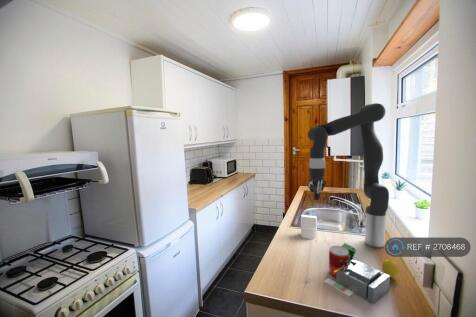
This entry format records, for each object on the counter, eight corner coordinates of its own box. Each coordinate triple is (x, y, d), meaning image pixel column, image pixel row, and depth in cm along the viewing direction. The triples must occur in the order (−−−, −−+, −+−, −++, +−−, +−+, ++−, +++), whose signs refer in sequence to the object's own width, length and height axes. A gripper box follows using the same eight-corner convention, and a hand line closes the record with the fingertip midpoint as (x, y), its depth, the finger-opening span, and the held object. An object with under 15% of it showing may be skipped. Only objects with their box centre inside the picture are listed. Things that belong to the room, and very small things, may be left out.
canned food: (341, 281, 95) (341, 256, 94) (325, 272, 102) (325, 248, 101) (352, 275, 99) (352, 251, 98) (335, 266, 106) (336, 243, 105)
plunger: (350, 273, 100) (350, 259, 99) (370, 284, 93) (371, 268, 92) (331, 286, 93) (332, 270, 92) (352, 298, 86) (352, 281, 85)
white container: (317, 233, 140) (318, 214, 139) (315, 240, 132) (315, 220, 131) (302, 231, 144) (302, 212, 143) (299, 237, 136) (299, 217, 135)
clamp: (344, 272, 109) (345, 261, 104) (332, 264, 113) (333, 253, 108) (356, 255, 115) (358, 243, 110) (344, 248, 119) (345, 237, 114)
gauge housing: (352, 272, 102) (353, 256, 101) (389, 290, 90) (389, 272, 89) (336, 283, 95) (336, 265, 94) (373, 304, 83) (373, 284, 82)
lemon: (397, 282, 94) (398, 264, 93) (381, 278, 97) (382, 260, 96) (397, 275, 98) (398, 257, 97) (381, 271, 101) (382, 254, 100)
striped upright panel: (328, 278, 98) (328, 277, 98) (353, 293, 89) (353, 292, 89) (324, 281, 96) (324, 280, 96) (349, 296, 87) (349, 295, 87)
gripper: (319, 164, 124) (318, 196, 126) (302, 167, 116) (302, 200, 118) (331, 166, 117) (331, 199, 119) (314, 169, 110) (314, 204, 112)
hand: (316, 199), depth 119 cm, fingers closed
